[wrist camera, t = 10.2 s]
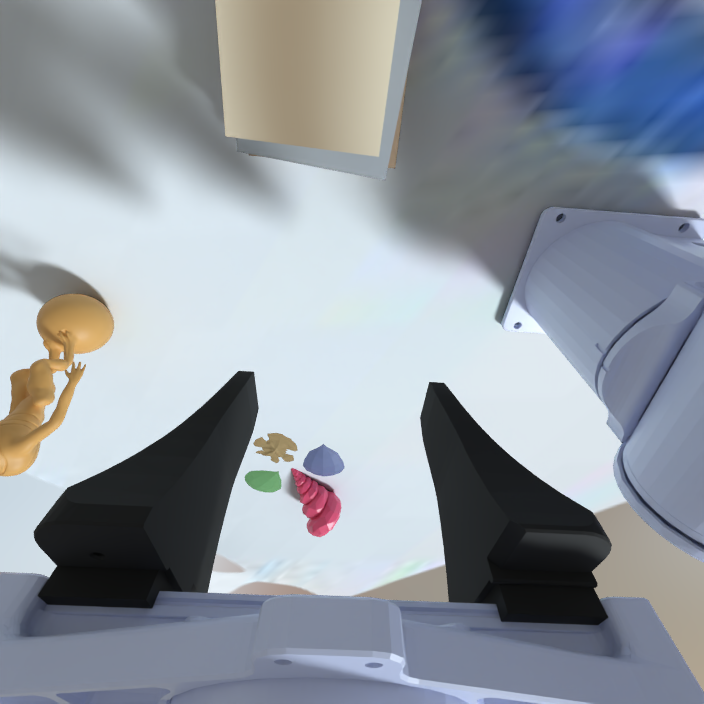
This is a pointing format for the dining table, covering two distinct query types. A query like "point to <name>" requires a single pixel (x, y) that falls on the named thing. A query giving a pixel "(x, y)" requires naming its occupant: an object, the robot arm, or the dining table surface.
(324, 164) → the slate grey block
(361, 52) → the birch block
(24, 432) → the figurine
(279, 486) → the toy pieces
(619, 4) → the dining table surface
